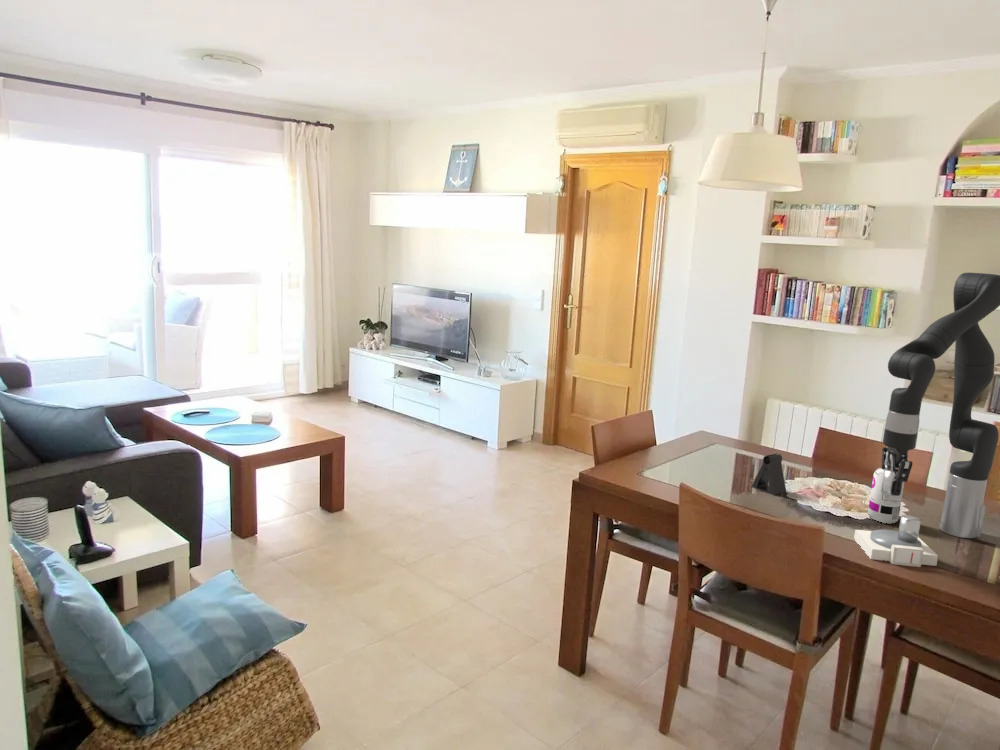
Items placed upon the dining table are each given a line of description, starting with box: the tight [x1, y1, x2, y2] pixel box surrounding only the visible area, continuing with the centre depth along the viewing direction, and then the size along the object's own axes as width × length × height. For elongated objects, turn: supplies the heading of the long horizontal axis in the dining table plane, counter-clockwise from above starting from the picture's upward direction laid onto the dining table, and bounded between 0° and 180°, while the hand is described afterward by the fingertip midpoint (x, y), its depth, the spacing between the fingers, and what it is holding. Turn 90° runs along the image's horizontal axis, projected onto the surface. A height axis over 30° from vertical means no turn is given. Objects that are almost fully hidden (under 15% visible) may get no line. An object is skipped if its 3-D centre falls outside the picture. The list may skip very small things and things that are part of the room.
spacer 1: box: [881, 469, 903, 496], centre depth 191 cm, size 5×5×6 cm
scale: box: [853, 529, 939, 568], centre depth 192 cm, size 16×15×5 cm
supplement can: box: [867, 467, 905, 525], centre depth 216 cm, size 8×8×15 cm
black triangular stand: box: [751, 453, 787, 496], centre depth 237 cm, size 9×6×12 cm, turn 34°
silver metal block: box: [897, 514, 922, 543], centre depth 192 cm, size 5×5×6 cm
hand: (891, 491), depth 191 cm, fingers closed on spacer 1, 4 cm apart
